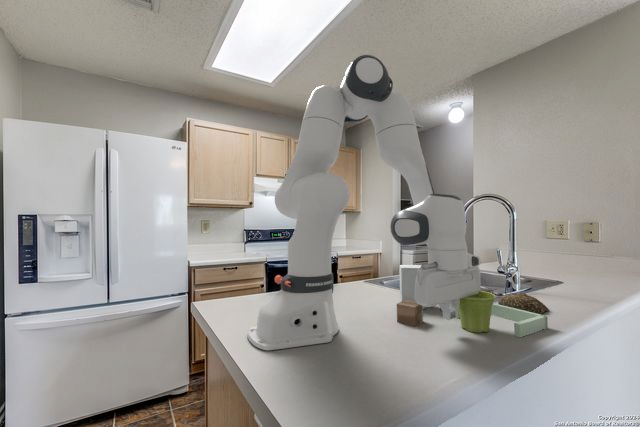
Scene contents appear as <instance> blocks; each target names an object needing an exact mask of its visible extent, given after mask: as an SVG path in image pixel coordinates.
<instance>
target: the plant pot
mask: <svg viewBox="0 0 640 427" xmlns="http://www.w3.org/2000/svg"><path fill="white" fill-rule="evenodd" d="M496 297H497V296H496V295H495V294H494V293H492V292H488V291H483V290H480V291H479V293H478V294H475V295H472V296H468V297H464V298H460V304H459V307H458V309H459V315H460V318H459V320H460V324H461V325H460V326H461V328H462V329H465V330H466V331H468V332H471V333H477V334H478V333H481V334H482V333H483V332H484V333H487V332H489V331H490V325H491V317H492V314H491V310H492V304H493V303H494V302H495V299H496Z"/></svg>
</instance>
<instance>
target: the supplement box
mask: <svg viewBox="0 0 640 427" xmlns="http://www.w3.org/2000/svg"><path fill="white" fill-rule="evenodd" d="M421 265H422V264H400V265H399V272H398V273H399V303H400V302H402V301H404V300H408V301H414V302H416V301H415V281H416V276H417V271H418V270H419V268H420V267H421ZM422 308H423V310H425V309H427V307H425V306H422Z"/></svg>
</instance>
